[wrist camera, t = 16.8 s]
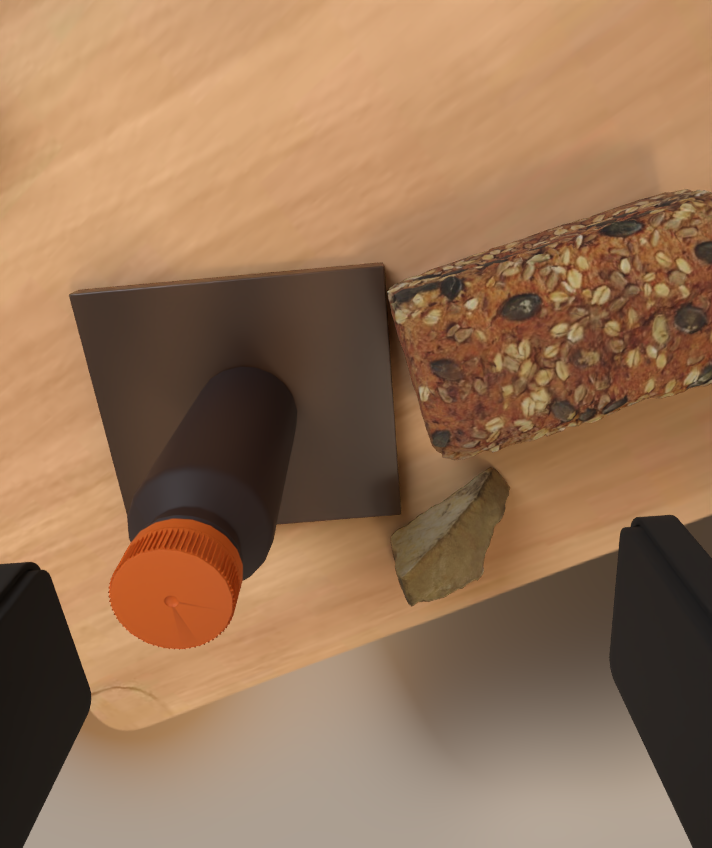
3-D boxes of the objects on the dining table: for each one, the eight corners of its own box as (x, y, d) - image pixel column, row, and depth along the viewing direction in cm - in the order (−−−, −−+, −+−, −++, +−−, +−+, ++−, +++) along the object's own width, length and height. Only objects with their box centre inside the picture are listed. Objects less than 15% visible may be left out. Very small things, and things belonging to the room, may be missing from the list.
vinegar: (318, 416, 43) (295, 607, 25) (247, 474, 45) (176, 694, 26) (248, 343, 41) (166, 492, 23) (177, 407, 43) (45, 594, 24)
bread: (422, 417, 45) (441, 483, 35) (379, 272, 41) (387, 304, 32) (687, 339, 43) (780, 388, 33) (669, 179, 39) (768, 184, 30)
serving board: (382, 262, 41) (383, 265, 39) (399, 504, 47) (401, 514, 46) (77, 289, 41) (68, 294, 40) (138, 525, 48) (132, 536, 47)
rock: (507, 439, 43) (367, 483, 43) (562, 555, 38) (407, 605, 38) (496, 501, 52) (382, 538, 52) (540, 600, 48) (415, 641, 47)
